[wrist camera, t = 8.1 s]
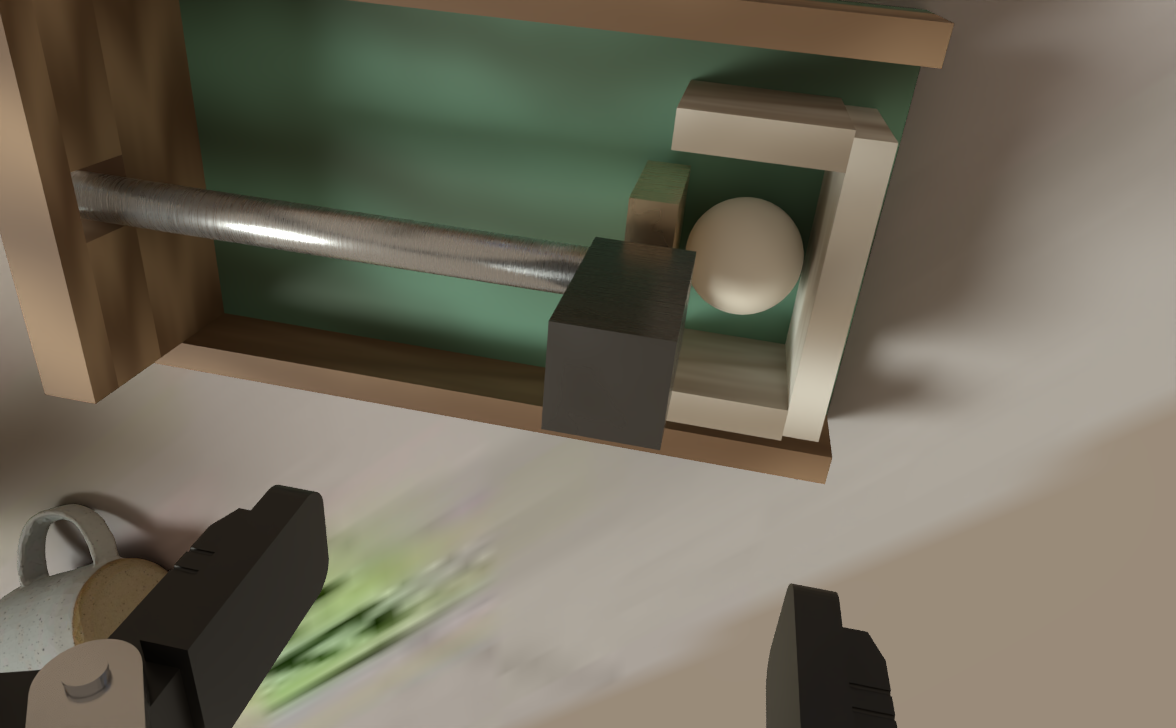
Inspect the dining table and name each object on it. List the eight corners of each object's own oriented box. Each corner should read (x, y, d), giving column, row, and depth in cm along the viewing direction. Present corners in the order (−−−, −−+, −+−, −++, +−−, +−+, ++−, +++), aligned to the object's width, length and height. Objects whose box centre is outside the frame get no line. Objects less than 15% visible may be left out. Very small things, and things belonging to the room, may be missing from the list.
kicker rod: (120, 88, 31) (-191, 165, 21) (712, 168, 28) (683, 301, 18) (144, 215, 33) (-125, 338, 23) (691, 300, 30) (655, 483, 20)
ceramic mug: (223, 619, 48) (134, 728, 41) (130, 647, 51) (33, 754, 44) (107, 477, 44) (-11, 571, 38) (15, 517, 47) (-110, 611, 41)
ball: (761, 178, 29) (670, 186, 28) (841, 214, 26) (744, 225, 25) (742, 280, 31) (655, 294, 29) (814, 324, 28) (723, 342, 26)
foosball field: (145, -74, 30) (-86, -75, 22) (926, 9, 27) (997, 44, 18) (206, 316, 38) (53, 422, 30) (818, 421, 34) (834, 574, 26)
